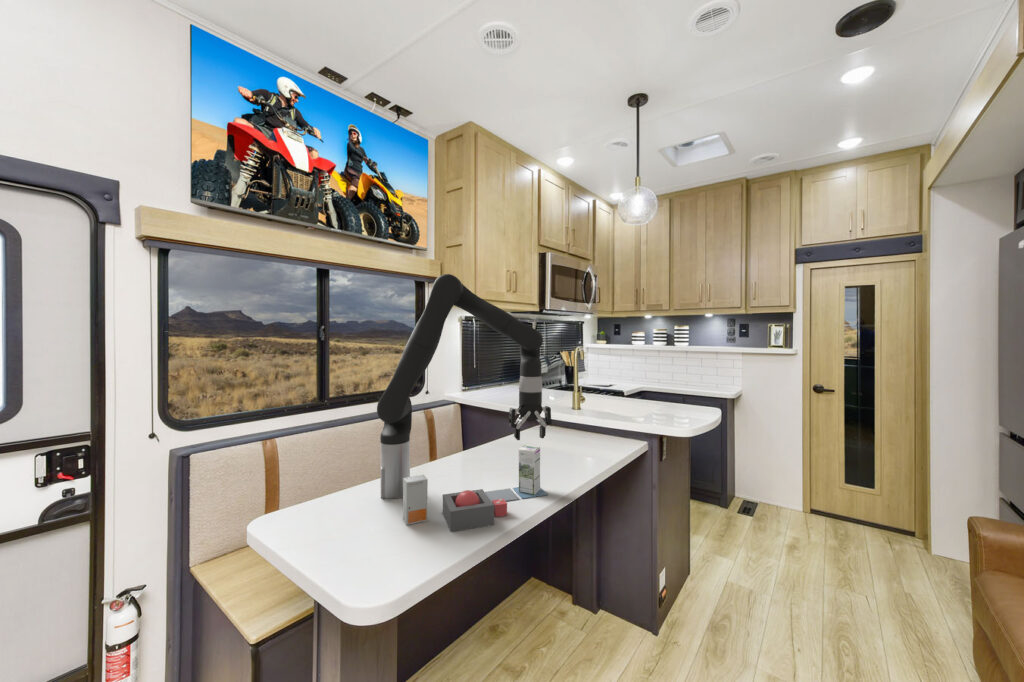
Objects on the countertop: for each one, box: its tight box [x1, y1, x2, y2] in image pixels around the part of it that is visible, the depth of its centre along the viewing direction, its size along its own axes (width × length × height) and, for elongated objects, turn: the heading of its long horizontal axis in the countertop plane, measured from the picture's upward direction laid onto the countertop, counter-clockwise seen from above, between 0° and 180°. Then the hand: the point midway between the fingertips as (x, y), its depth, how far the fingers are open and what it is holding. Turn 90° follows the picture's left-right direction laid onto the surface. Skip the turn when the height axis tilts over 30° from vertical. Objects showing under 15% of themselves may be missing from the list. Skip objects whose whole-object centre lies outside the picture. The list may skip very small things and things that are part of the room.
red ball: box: [455, 490, 480, 507], centre depth 114 cm, size 7×7×7 cm
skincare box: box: [402, 474, 428, 526], centre depth 114 cm, size 6×4×12 cm
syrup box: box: [518, 444, 541, 495], centre depth 134 cm, size 6×6×14 cm
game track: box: [484, 486, 549, 502], centre depth 130 cm, size 30×9×1 cm, turn 110°
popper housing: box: [442, 488, 508, 533], centre depth 115 cm, size 17×12×6 cm
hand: (529, 438), depth 134 cm, fingers open, 8 cm apart
